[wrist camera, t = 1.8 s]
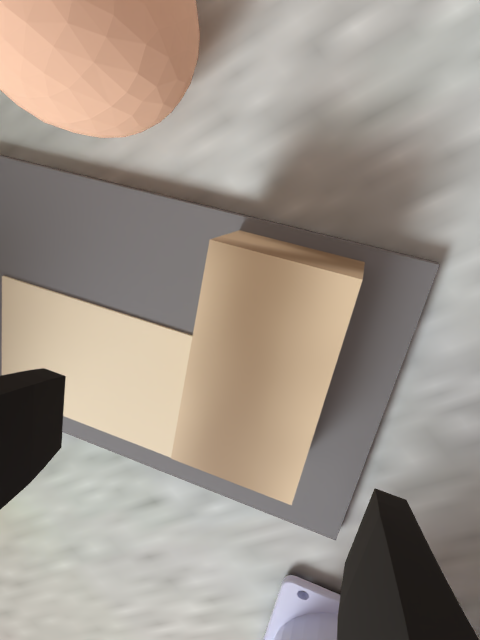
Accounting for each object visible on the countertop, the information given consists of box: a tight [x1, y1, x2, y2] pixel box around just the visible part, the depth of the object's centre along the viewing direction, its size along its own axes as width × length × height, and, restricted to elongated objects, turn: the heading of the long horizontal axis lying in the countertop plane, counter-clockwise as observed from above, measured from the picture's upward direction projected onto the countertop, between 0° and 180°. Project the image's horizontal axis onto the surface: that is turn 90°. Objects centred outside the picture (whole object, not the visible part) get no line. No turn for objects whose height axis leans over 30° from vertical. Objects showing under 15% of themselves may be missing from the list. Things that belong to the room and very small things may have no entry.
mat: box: [0, 155, 439, 540], centre depth 18 cm, size 18×12×1 cm, turn 78°
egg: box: [0, 0, 200, 138], centre depth 11 cm, size 6×6×8 cm
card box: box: [171, 230, 365, 505], centre depth 15 cm, size 4×8×3 cm, turn 168°
